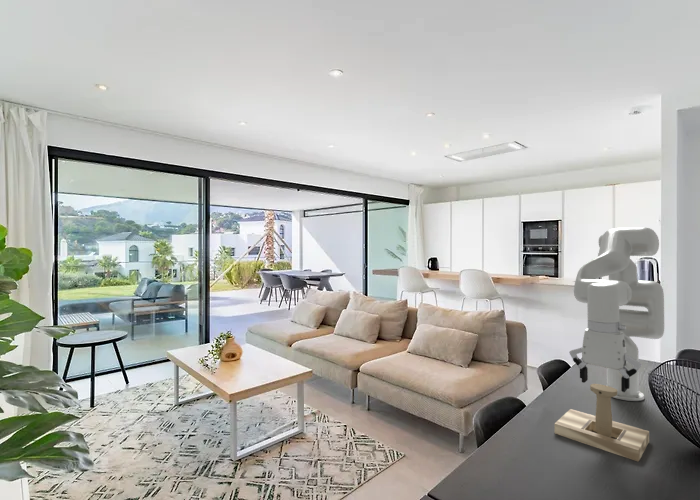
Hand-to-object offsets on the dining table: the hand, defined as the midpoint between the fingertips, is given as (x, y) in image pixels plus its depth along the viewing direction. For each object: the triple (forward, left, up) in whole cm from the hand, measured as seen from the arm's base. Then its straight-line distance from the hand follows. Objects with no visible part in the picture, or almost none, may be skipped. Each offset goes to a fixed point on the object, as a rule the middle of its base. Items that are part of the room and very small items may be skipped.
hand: (603, 385), depth 107 cm
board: (0, -1, -15) cm, 16 cm away
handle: (0, 0, -16) cm, 16 cm away
